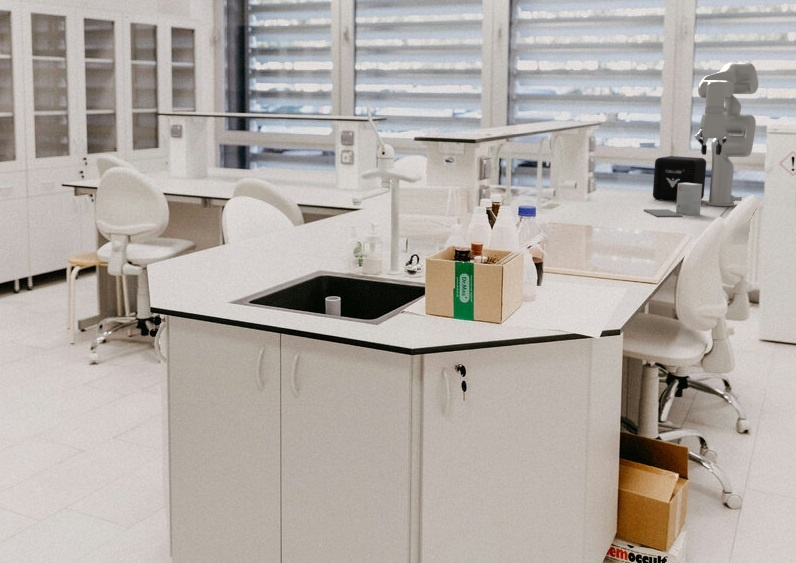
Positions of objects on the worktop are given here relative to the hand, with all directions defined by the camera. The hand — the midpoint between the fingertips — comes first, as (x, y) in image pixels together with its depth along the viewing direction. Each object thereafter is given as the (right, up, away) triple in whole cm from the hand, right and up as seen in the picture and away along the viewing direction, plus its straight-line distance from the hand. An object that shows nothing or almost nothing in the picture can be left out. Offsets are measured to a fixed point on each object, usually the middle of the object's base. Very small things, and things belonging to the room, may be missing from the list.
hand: (710, 154), depth 388 cm
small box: (-8, -25, +5) cm, 27 cm away
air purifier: (+1, -15, +50) cm, 52 cm away
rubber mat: (-19, -25, +5) cm, 32 cm away
